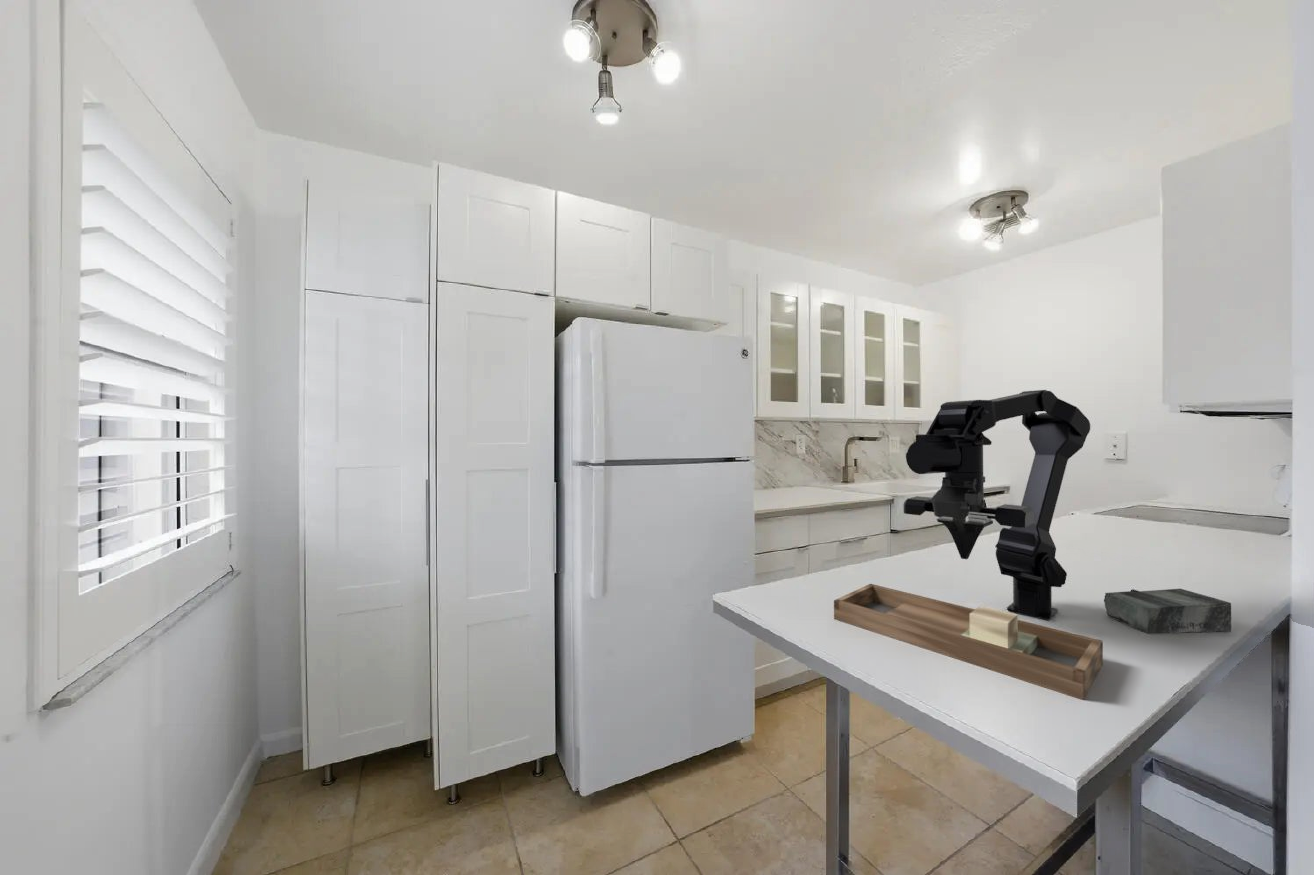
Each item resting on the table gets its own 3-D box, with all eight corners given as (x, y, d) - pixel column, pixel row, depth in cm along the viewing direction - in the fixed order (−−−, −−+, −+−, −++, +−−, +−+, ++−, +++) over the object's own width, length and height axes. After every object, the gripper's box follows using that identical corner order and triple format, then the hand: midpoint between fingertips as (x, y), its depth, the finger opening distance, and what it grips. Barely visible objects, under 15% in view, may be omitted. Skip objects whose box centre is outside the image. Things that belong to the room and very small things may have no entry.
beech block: (980, 629, 78) (980, 605, 78) (1017, 639, 74) (1017, 614, 74) (969, 638, 74) (969, 613, 74) (1007, 649, 71) (1007, 623, 70)
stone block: (1097, 615, 88) (1097, 587, 88) (1174, 613, 88) (1174, 585, 88) (1147, 635, 79) (1147, 604, 79) (1233, 633, 79) (1232, 602, 79)
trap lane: (870, 600, 97) (870, 583, 97) (1102, 664, 70) (1102, 640, 70) (834, 618, 88) (833, 600, 88) (1083, 699, 61) (1083, 673, 61)
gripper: (889, 471, 86) (890, 556, 86) (1014, 478, 71) (1015, 581, 71) (915, 467, 93) (916, 546, 93) (1034, 473, 78) (1035, 566, 78)
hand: (964, 558), depth 84 cm, fingers closed
